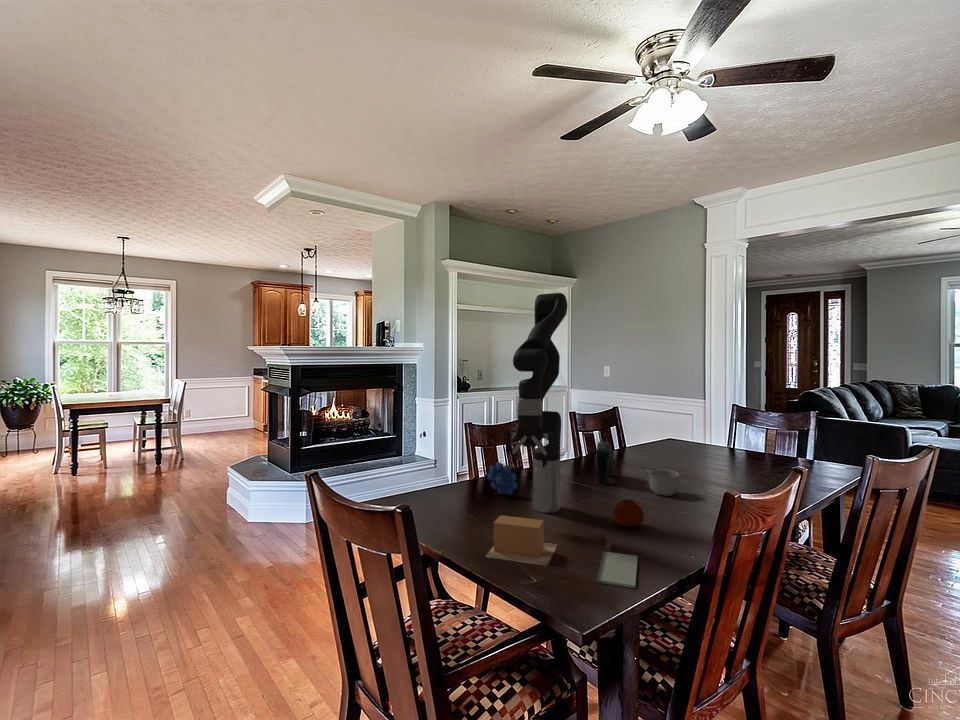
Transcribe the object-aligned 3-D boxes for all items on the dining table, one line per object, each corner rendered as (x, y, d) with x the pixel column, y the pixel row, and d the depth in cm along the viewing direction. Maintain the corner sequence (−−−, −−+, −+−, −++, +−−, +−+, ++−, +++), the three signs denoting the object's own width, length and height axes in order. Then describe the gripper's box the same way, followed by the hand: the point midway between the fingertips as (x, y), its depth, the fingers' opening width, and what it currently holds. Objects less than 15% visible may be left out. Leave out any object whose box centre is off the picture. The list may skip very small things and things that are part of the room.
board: (501, 542, 138) (501, 536, 138) (557, 549, 133) (557, 544, 133) (485, 562, 125) (485, 556, 125) (547, 571, 120) (547, 565, 120)
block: (500, 542, 134) (500, 515, 134) (543, 548, 130) (543, 520, 130) (493, 551, 128) (493, 522, 128) (538, 557, 124) (538, 528, 124)
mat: (560, 547, 134) (560, 545, 134) (637, 558, 127) (637, 555, 127) (548, 574, 118) (548, 572, 118) (635, 588, 111) (635, 585, 111)
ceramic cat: (609, 486, 194) (609, 436, 194) (592, 485, 197) (592, 435, 196) (614, 474, 213) (615, 428, 212) (599, 473, 215) (599, 427, 215)
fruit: (607, 523, 153) (607, 497, 153) (630, 519, 156) (630, 494, 156) (625, 533, 145) (625, 506, 145) (649, 529, 148) (649, 502, 148)
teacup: (685, 496, 181) (686, 474, 181) (662, 499, 177) (662, 477, 177) (659, 486, 194) (659, 466, 194) (637, 489, 190) (637, 468, 190)
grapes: (483, 496, 182) (483, 463, 181) (489, 491, 188) (489, 460, 188) (514, 499, 178) (514, 466, 178) (519, 494, 184) (519, 462, 184)
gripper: (553, 413, 154) (553, 465, 154) (508, 412, 157) (508, 463, 156) (552, 414, 147) (552, 469, 146) (505, 413, 149) (505, 467, 149)
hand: (529, 466), depth 151 cm, fingers open, 8 cm apart
